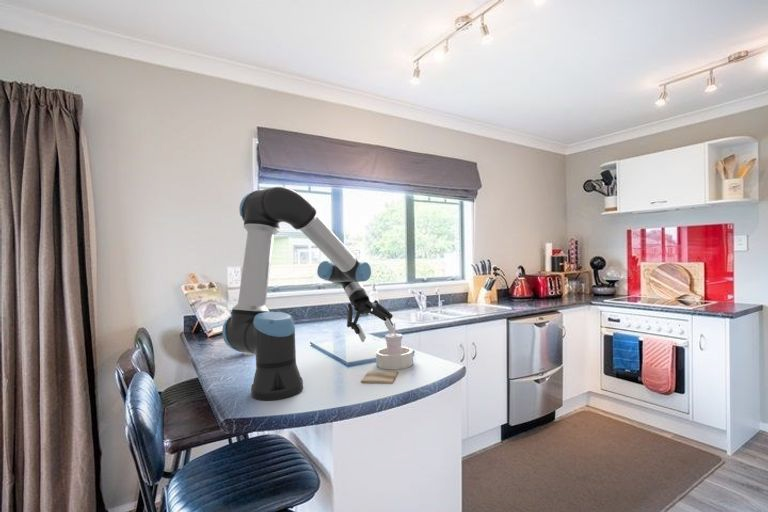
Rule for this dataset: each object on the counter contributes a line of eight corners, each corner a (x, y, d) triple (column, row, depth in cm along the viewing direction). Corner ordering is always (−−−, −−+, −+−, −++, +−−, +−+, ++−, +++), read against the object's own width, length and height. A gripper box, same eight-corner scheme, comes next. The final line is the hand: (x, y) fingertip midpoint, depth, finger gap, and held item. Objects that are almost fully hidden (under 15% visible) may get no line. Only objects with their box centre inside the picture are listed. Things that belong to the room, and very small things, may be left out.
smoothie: (397, 365, 133) (395, 325, 133) (382, 362, 137) (380, 324, 136) (407, 360, 138) (405, 322, 138) (392, 358, 142) (390, 320, 141)
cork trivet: (392, 383, 117) (392, 381, 117) (361, 382, 119) (360, 380, 119) (398, 373, 127) (398, 371, 127) (369, 372, 129) (369, 370, 129)
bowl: (403, 371, 128) (403, 357, 128) (370, 367, 134) (369, 354, 134) (418, 360, 140) (417, 347, 140) (386, 358, 146) (386, 345, 146)
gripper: (378, 297, 166) (401, 337, 154) (327, 304, 152) (347, 348, 140) (385, 286, 162) (408, 325, 150) (332, 291, 148) (353, 336, 135)
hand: (379, 336), depth 145 cm, fingers open, 13 cm apart
